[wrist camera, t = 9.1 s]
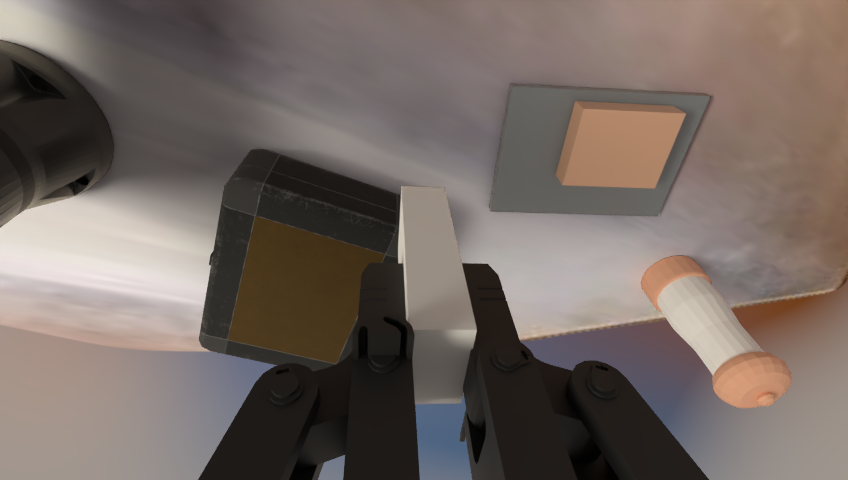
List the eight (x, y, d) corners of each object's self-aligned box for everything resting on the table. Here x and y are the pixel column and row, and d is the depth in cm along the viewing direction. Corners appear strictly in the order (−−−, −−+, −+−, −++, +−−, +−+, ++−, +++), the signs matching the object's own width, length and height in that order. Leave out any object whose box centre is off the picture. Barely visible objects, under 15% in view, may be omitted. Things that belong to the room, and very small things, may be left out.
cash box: (243, 139, 44) (216, 172, 38) (424, 200, 49) (427, 239, 43) (213, 304, 57) (189, 350, 51) (358, 339, 62) (353, 385, 56)
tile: (562, 185, 44) (654, 188, 45) (583, 108, 40) (686, 113, 40) (555, 173, 46) (643, 177, 47) (574, 100, 42) (671, 104, 42)
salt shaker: (633, 296, 59) (716, 424, 43) (653, 254, 55) (754, 379, 39) (682, 297, 59) (782, 425, 44) (706, 256, 55) (826, 380, 40)
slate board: (489, 206, 50) (490, 211, 49) (510, 83, 42) (512, 86, 41) (653, 211, 51) (657, 216, 50) (704, 93, 43) (710, 96, 42)
